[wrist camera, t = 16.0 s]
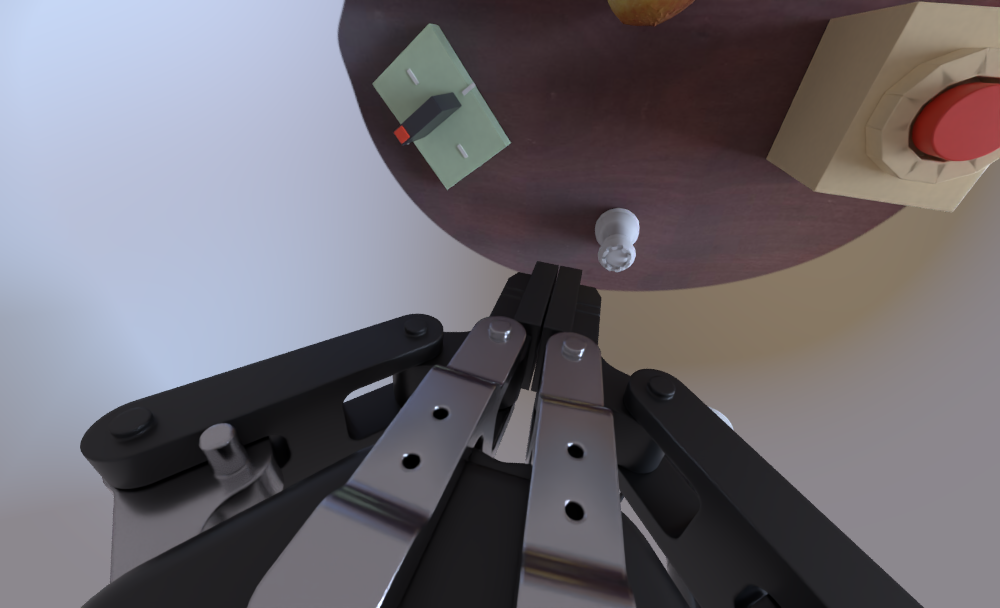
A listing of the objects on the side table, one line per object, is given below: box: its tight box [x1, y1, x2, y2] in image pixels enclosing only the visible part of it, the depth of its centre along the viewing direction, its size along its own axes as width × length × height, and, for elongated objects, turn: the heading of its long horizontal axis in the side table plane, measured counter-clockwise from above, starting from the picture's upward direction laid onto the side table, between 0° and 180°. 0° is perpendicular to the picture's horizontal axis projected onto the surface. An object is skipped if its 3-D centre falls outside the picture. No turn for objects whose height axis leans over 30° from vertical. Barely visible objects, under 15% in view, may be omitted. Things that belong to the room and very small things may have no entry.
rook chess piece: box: [595, 208, 639, 272], centre depth 37 cm, size 4×4×8 cm
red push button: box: [912, 82, 1000, 161], centre depth 20 cm, size 4×4×2 cm
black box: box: [393, 92, 462, 146], centre depth 35 cm, size 5×1×5 cm, turn 125°
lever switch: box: [373, 23, 511, 190], centre depth 38 cm, size 12×9×2 cm
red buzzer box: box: [766, 2, 1000, 212], centre depth 25 cm, size 10×8×12 cm
